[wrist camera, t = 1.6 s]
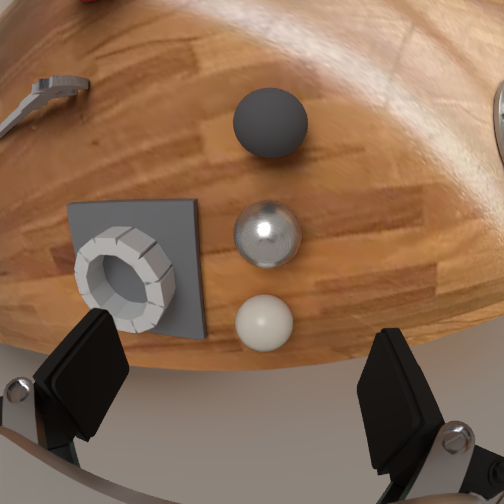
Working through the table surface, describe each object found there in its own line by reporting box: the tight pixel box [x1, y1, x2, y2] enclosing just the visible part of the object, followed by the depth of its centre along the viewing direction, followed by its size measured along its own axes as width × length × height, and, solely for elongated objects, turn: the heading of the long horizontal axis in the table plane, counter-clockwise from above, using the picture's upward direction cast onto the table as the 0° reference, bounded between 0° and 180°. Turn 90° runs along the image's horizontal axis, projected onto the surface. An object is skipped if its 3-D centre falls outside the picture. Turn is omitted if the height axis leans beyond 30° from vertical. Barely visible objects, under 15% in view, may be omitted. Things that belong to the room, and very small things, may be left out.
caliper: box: [0, 76, 88, 138], centre depth 17 cm, size 20×1×6 cm, turn 95°
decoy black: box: [233, 88, 308, 158], centre depth 17 cm, size 5×5×5 cm
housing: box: [67, 199, 207, 340], centre depth 24 cm, size 14×14×4 cm
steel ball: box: [233, 200, 302, 269], centre depth 20 cm, size 5×5×5 cm
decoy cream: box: [235, 294, 293, 352], centre depth 23 cm, size 5×5×5 cm
